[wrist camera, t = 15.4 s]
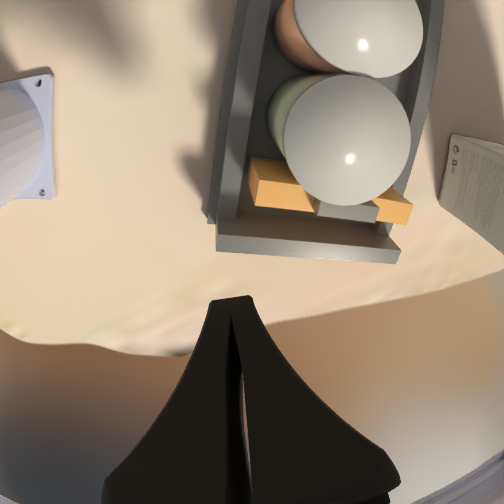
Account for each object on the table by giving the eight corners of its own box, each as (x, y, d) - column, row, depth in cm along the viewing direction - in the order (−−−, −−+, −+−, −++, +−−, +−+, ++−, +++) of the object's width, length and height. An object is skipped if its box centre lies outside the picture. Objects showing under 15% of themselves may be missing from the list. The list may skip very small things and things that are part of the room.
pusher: (246, 176, 16) (257, 213, 12) (249, 156, 16) (262, 186, 12) (374, 195, 18) (413, 232, 14) (379, 178, 17) (421, 211, 13)
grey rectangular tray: (207, 219, 18) (206, 250, 15) (271, -132, 5) (282, -159, 2) (378, 236, 20) (401, 264, 17) (434, -72, 7) (464, -82, 4)
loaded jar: (281, 173, 17) (306, 222, 12) (250, 87, 14) (265, 97, 9) (363, 146, 16) (416, 184, 11) (341, 62, 13) (397, 65, 8)
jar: (249, 41, 12) (267, 20, 8) (301, -25, 10) (341, -64, 5) (331, 93, 14) (383, 105, 9) (376, 29, 12) (440, 20, 7)
